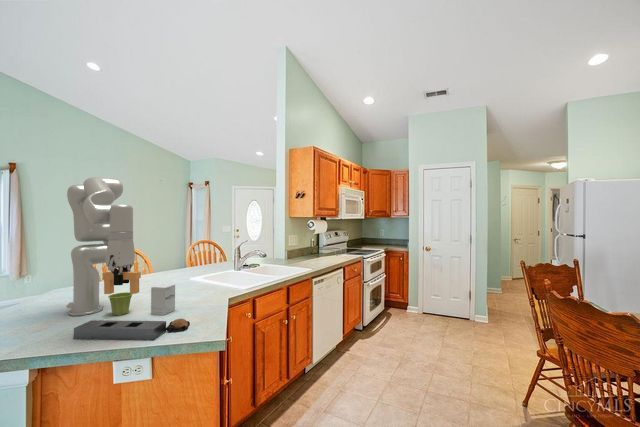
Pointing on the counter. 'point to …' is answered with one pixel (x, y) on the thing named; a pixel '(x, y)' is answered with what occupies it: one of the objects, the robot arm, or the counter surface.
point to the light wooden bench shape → (131, 276)
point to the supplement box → (162, 299)
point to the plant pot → (120, 303)
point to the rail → (120, 330)
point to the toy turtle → (177, 326)
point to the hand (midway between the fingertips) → (121, 283)
